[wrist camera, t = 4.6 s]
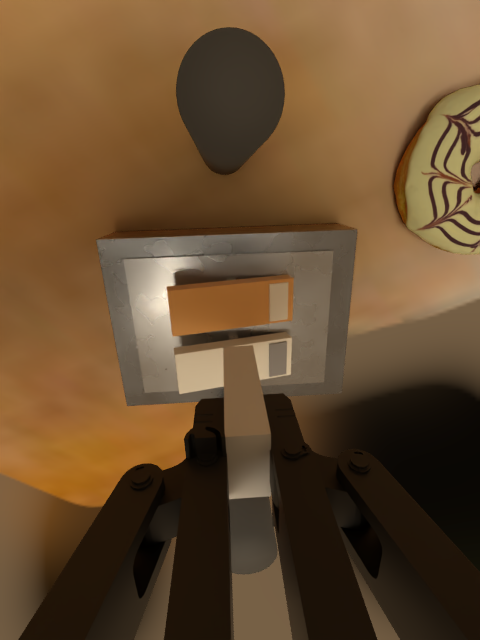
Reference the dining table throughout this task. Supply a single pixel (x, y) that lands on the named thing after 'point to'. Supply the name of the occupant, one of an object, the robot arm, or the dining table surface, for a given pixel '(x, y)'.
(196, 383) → the paddle ivory
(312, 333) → the breaker box
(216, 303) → the paddle orange
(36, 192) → the dining table surface
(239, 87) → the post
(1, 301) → the dining table surface
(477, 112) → the decorated donut
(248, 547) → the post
